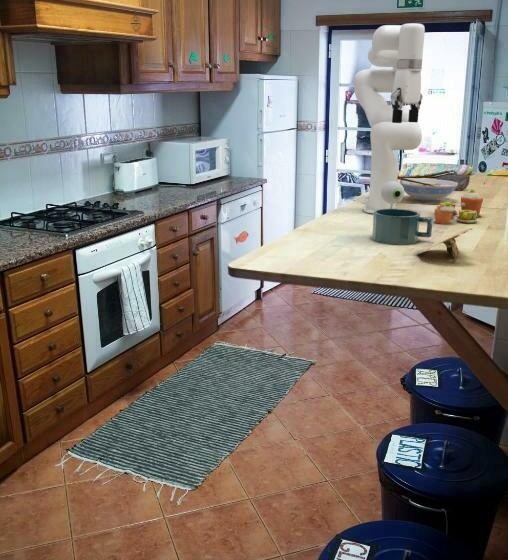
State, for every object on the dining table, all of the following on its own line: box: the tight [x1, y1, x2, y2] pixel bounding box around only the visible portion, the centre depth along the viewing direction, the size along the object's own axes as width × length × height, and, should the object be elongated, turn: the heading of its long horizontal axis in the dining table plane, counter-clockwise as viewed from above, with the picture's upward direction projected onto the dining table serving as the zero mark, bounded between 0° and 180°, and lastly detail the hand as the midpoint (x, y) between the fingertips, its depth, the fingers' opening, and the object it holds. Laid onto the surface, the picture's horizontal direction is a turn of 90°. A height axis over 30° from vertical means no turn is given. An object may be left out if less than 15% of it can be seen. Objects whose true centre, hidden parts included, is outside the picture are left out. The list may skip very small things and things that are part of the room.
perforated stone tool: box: [436, 174, 471, 191], centre depth 286 cm, size 15×5×7 cm, turn 70°
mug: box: [371, 208, 434, 246], centre depth 185 cm, size 17×13×8 cm
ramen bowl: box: [397, 176, 458, 203], centre depth 255 cm, size 25×23×8 cm
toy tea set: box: [434, 188, 484, 225], centre depth 218 cm, size 26×16×10 cm, turn 158°
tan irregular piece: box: [420, 227, 473, 263], centre depth 165 cm, size 18×14×8 cm
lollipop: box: [381, 181, 405, 209], centre depth 200 cm, size 7×7×15 cm
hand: (405, 122), depth 203 cm, fingers open, 9 cm apart
